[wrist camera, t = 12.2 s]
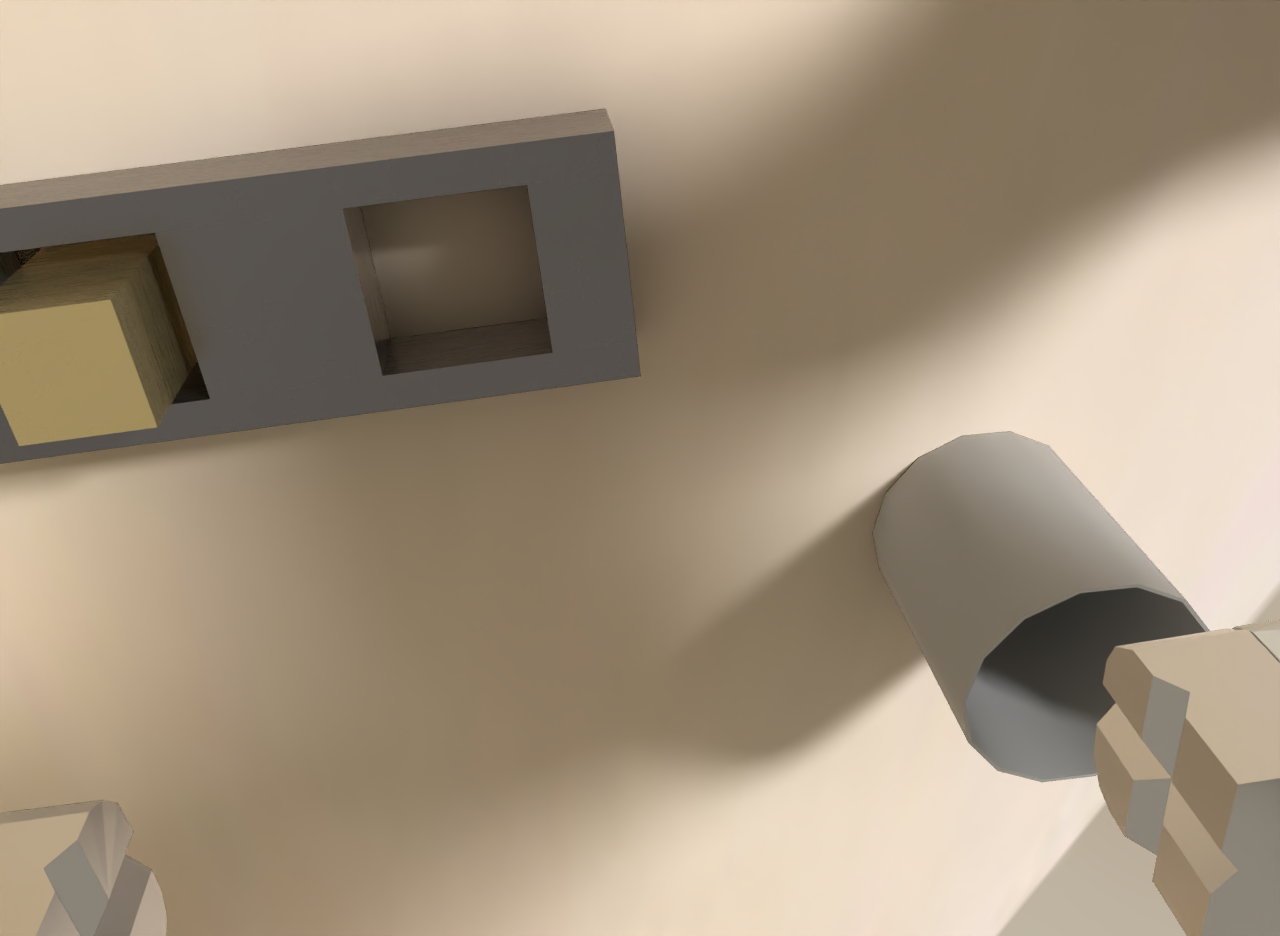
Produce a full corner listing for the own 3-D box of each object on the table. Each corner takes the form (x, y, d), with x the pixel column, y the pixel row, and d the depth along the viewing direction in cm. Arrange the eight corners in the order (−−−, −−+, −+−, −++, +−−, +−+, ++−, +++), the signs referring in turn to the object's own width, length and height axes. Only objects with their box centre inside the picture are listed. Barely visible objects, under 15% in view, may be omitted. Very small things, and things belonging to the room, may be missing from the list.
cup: (1115, 469, 44) (1264, 625, 35) (1005, 625, 47) (1117, 801, 39) (938, 405, 41) (1052, 555, 33) (837, 574, 45) (916, 749, 36)
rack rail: (605, 108, 35) (613, 130, 32) (631, 340, 39) (640, 376, 36) (-102, 198, 34) (-152, 228, 31) (0, 425, 38) (-36, 468, 35)
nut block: (168, 231, 35) (110, 299, 30) (205, 345, 37) (157, 427, 32) (42, 247, 35) (-38, 318, 30) (86, 361, 37) (19, 446, 32)
